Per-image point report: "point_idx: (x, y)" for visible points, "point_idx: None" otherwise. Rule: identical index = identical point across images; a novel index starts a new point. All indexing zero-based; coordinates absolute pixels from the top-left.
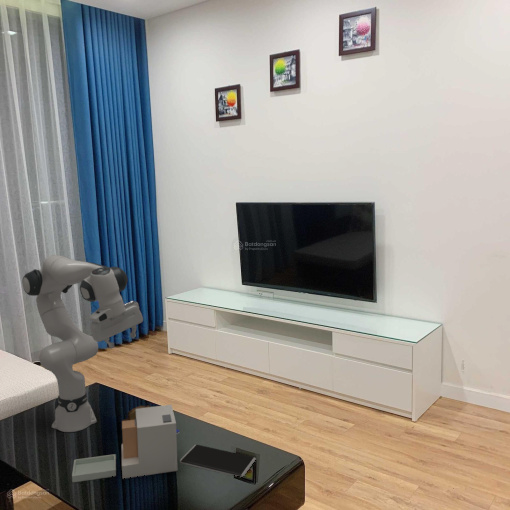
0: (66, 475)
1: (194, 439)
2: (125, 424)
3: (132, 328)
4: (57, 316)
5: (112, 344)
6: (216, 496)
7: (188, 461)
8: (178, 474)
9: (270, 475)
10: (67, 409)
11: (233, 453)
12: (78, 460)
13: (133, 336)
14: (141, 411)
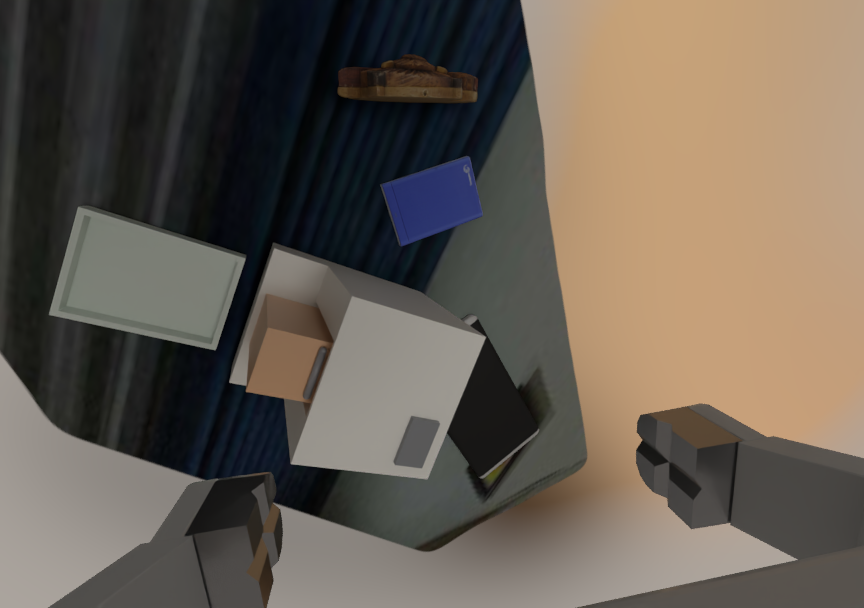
0: (42, 252)
1: (488, 277)
2: (271, 364)
3: (858, 486)
4: None
5: (236, 598)
6: (402, 514)
7: None
8: None
9: (521, 488)
10: None
11: (516, 399)
12: (97, 218)
13: (665, 491)
14: (363, 334)
